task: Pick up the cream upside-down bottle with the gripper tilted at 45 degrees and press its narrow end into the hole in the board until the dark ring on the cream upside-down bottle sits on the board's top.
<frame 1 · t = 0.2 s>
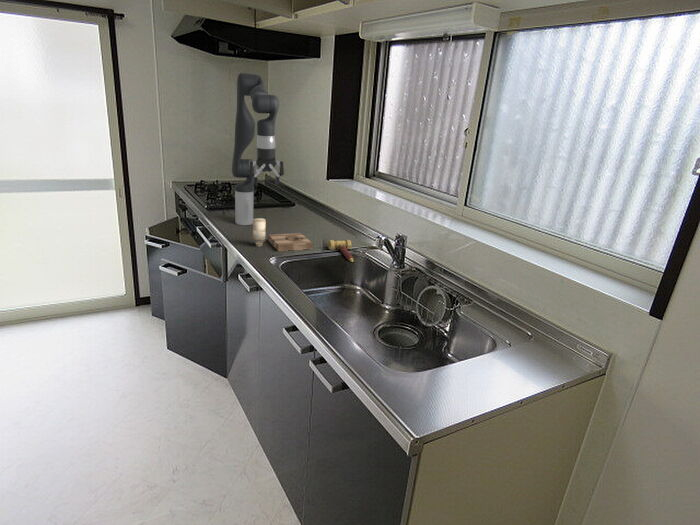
hand: (266, 185, 189), 29 cm above the worktop, tool pointing down, fingers open, 8 cm apart
cream upside-down bottle: (259, 245, 203), on the worktop
gavel: (344, 255, 201), on the worktop
board: (289, 244, 207), on the worktop
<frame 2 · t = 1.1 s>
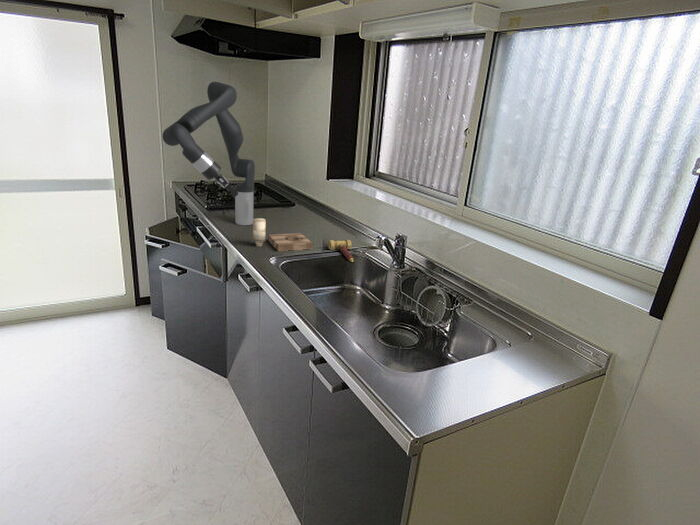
hand: (234, 193, 192), 24 cm above the worktop, tool tilted 45°, fingers open, 8 cm apart
nothing on the worktop moved.
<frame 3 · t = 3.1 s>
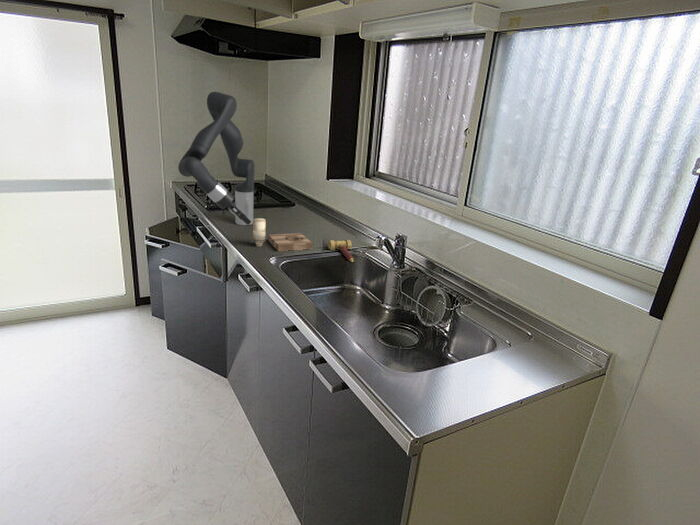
hand: (247, 220, 197), 12 cm above the worktop, tool tilted 45°, fingers open, 8 cm apart
nothing on the worktop moved.
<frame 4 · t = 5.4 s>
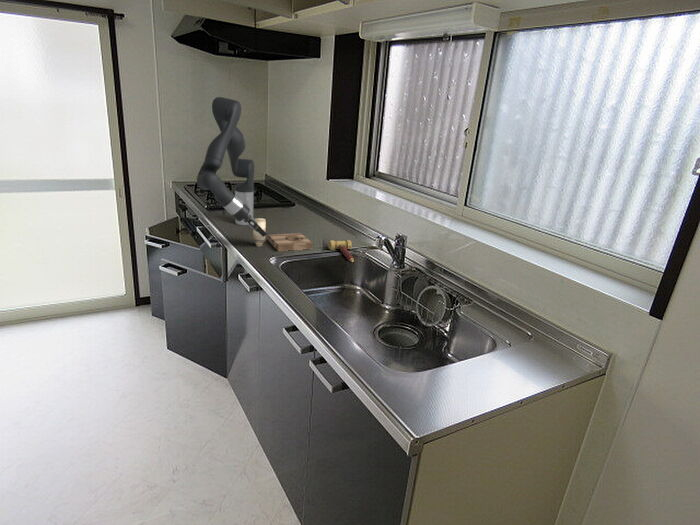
hand: (263, 233, 202), 6 cm above the worktop, tool tilted 45°, fingers closed on cream upside-down bottle, 5 cm apart
cream upside-down bottle: (259, 245, 203), on the worktop, touching gripper
everything else where it was.
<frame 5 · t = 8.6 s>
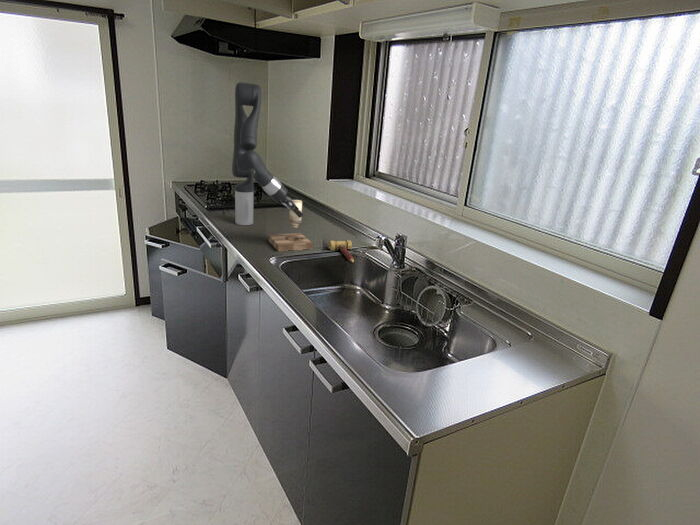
hand: (299, 214, 204), 14 cm above the worktop, tool tilted 45°, fingers closed on cream upside-down bottle, 5 cm apart
cream upside-down bottle: (294, 226, 205), point 9 cm above the worktop, touching gripper
everything else where it was.
when the fingers open (6 cm above the worktop, at t = 11.9 s): cream upside-down bottle stays where it is, resting on board.
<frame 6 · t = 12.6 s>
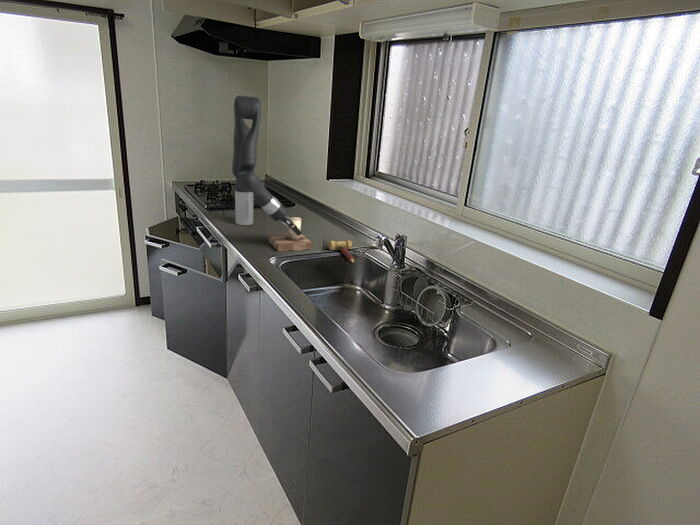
hand: (297, 231, 207), 6 cm above the worktop, tool tilted 45°, fingers open, 8 cm apart
cream upside-down bottle: (294, 243, 208), resting on board
everything else where it was.
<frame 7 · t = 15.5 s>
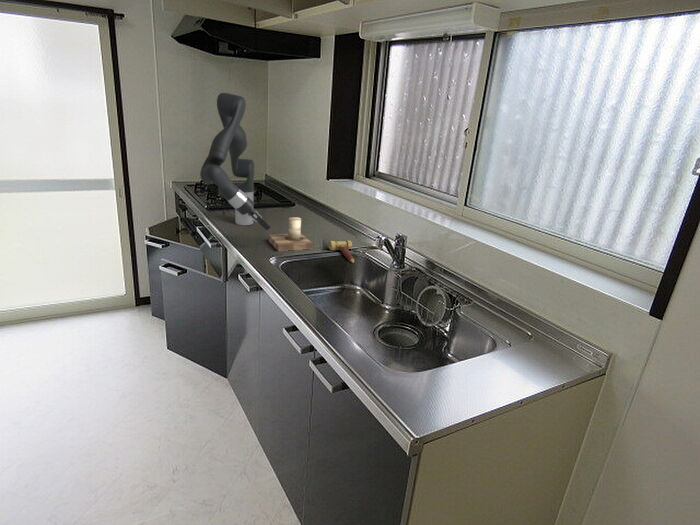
hand: (266, 226, 200), 9 cm above the worktop, tool tilted 45°, fingers open, 8 cm apart
nothing on the worktop moved.
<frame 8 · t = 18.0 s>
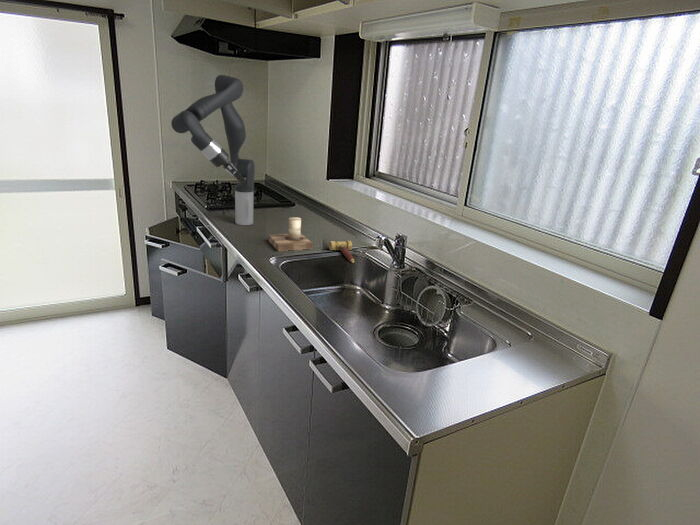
hand: (242, 180, 194), 29 cm above the worktop, tool tilted 45°, fingers open, 8 cm apart
at the end: cream upside-down bottle 0.1 cm from the target spot on the board, point 0.5 cm above the board's base; cream upside-down bottle tilted 0°; the gripper is holding nothing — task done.
